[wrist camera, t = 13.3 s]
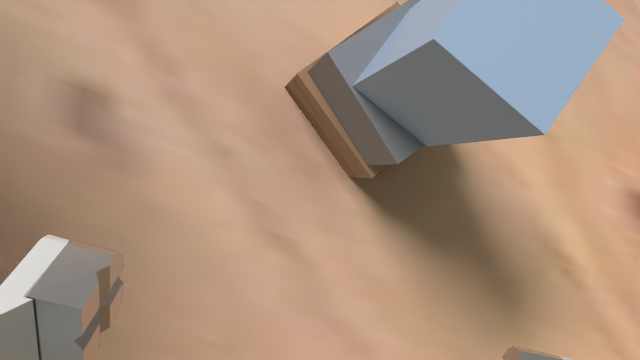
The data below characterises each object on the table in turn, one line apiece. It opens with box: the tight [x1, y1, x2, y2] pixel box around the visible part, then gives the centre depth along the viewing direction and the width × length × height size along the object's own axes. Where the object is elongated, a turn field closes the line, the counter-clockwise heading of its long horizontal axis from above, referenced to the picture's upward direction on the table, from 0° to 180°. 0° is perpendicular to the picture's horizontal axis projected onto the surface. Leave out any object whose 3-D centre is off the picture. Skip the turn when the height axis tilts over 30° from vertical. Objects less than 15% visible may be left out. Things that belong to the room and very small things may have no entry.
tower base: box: [285, 2, 400, 179], centre depth 32 cm, size 7×7×5 cm
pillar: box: [353, 0, 624, 147], centre depth 20 cm, size 4×4×9 cm
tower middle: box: [308, 0, 425, 165], centre depth 27 cm, size 6×6×5 cm
